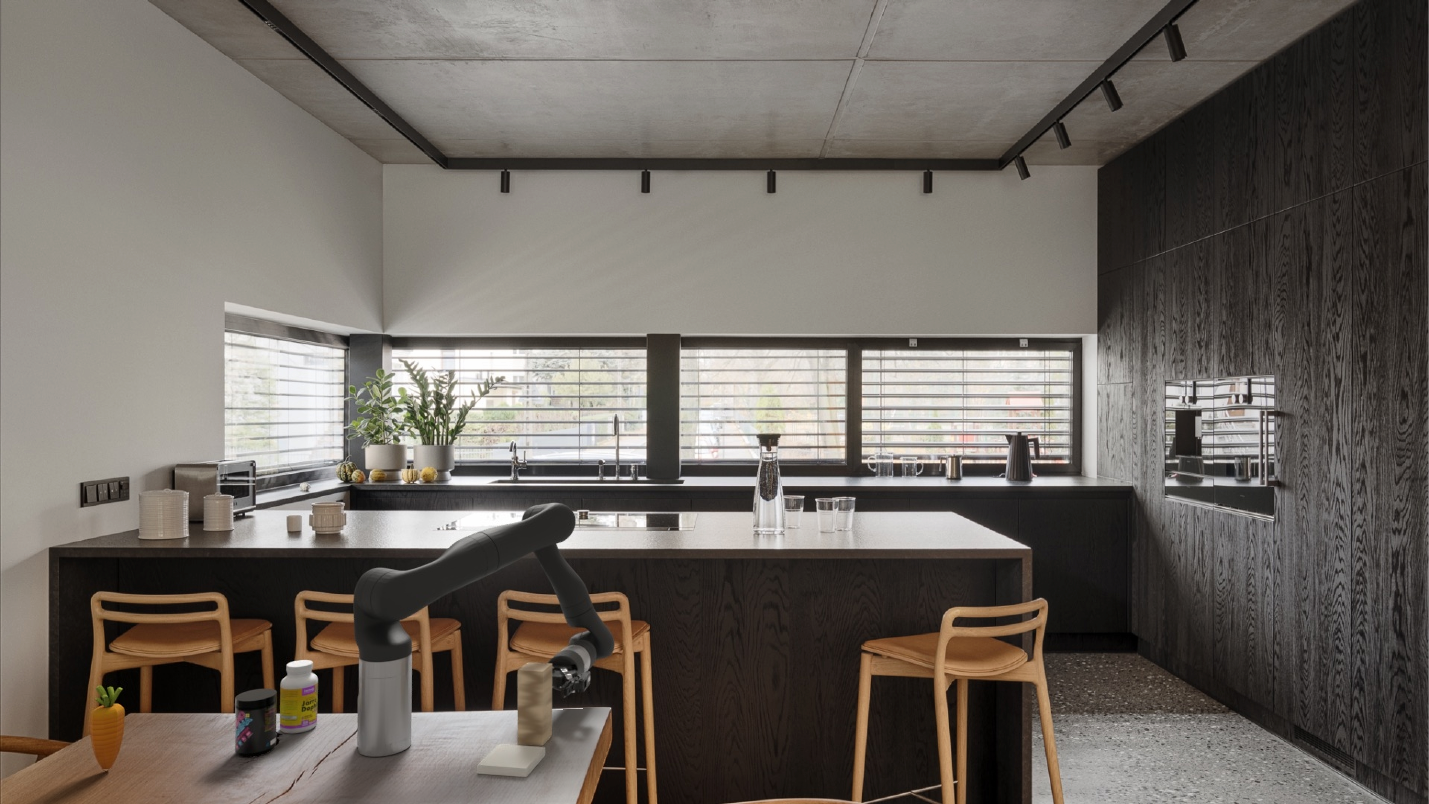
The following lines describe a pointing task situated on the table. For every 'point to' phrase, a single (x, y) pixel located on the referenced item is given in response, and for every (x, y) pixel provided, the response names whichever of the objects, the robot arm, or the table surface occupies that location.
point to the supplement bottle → (298, 698)
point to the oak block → (534, 704)
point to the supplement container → (255, 722)
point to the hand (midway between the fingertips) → (541, 691)
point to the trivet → (511, 760)
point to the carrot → (107, 727)
